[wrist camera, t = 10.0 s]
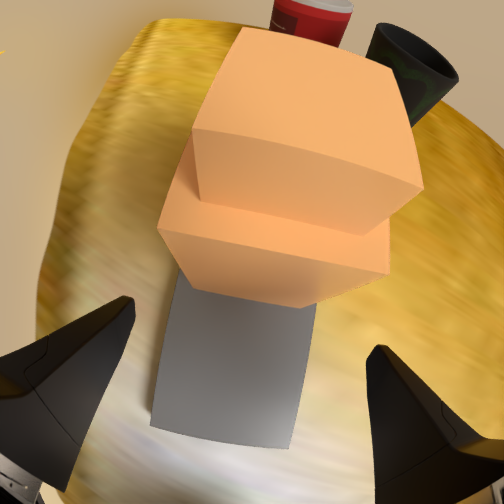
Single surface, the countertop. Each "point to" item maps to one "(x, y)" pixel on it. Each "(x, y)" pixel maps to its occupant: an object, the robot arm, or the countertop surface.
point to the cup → (412, 68)
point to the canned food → (312, 19)
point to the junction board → (231, 368)
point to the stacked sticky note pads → (291, 173)
